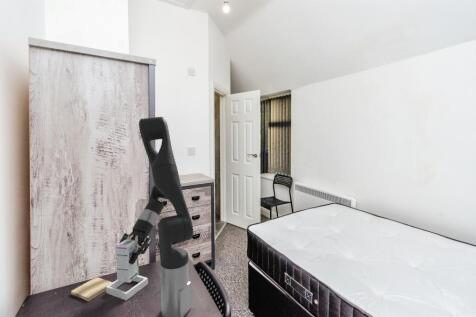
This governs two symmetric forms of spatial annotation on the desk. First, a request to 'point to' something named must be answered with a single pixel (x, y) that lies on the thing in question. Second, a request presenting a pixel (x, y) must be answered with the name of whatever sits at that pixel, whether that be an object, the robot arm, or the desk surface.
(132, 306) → the desk surface
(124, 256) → the syrup box
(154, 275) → the desk surface
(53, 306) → the desk surface
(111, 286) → the white square frame
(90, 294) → the oak board
